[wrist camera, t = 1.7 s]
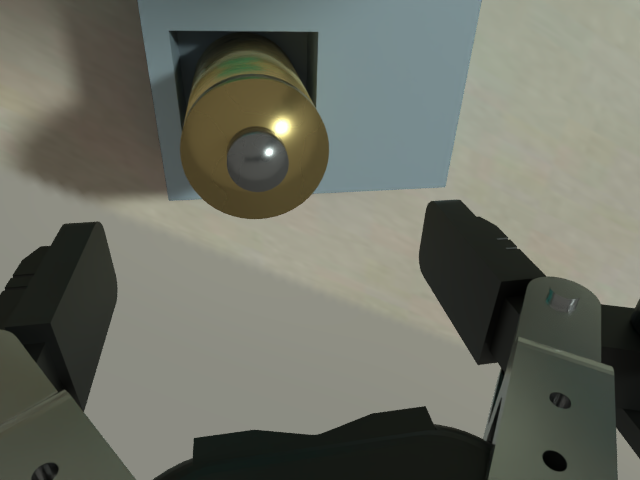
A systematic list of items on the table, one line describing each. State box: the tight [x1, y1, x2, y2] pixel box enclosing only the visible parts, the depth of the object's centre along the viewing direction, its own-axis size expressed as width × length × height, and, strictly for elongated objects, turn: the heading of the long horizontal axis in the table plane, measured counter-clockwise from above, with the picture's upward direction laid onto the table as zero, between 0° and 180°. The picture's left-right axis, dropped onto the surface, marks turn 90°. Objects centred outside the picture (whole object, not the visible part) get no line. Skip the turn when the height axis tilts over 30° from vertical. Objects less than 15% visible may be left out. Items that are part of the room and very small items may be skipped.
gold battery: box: [180, 32, 329, 219], centre depth 19 cm, size 5×5×10 cm
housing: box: [137, 0, 482, 201], centre depth 23 cm, size 10×14×4 cm
